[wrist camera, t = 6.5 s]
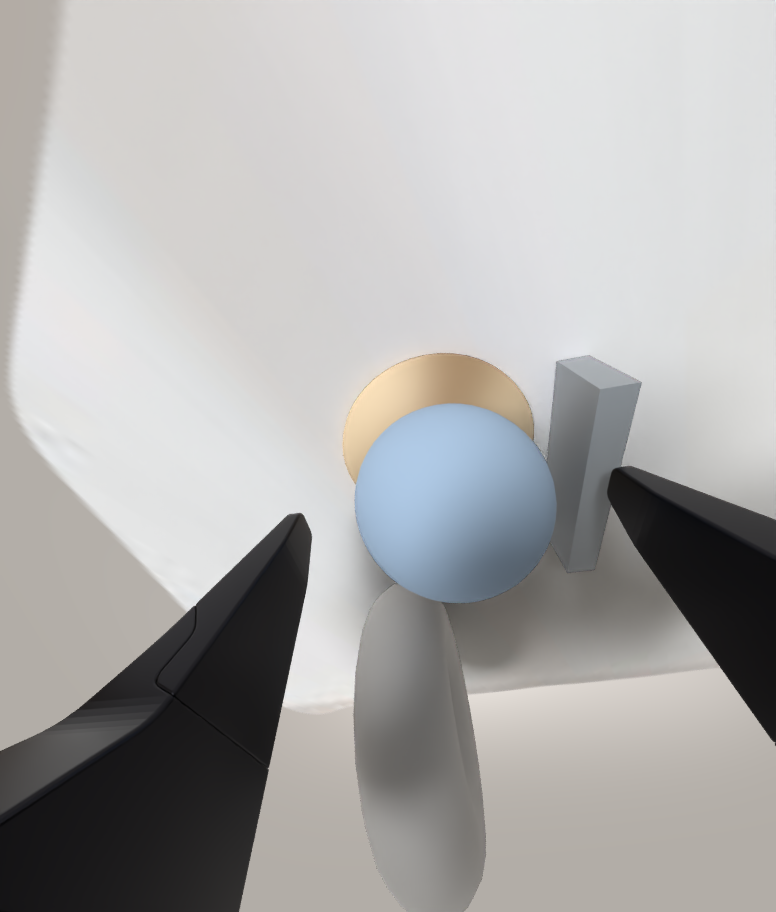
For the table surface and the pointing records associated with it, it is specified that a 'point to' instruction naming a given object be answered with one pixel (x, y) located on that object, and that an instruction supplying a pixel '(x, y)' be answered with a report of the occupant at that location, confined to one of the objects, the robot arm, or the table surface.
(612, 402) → the gray rectangular bar
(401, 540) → the ball
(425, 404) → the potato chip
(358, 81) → the table surface
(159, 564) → the table surface
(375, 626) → the white plump rounded part
